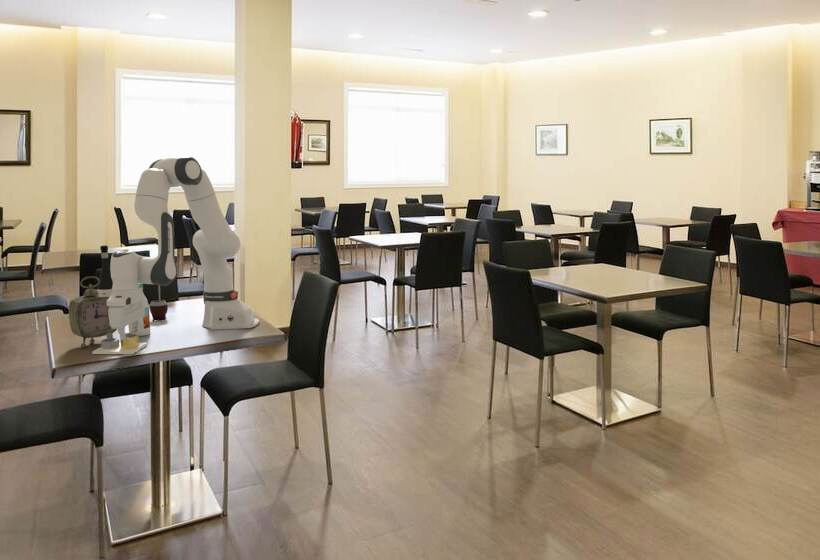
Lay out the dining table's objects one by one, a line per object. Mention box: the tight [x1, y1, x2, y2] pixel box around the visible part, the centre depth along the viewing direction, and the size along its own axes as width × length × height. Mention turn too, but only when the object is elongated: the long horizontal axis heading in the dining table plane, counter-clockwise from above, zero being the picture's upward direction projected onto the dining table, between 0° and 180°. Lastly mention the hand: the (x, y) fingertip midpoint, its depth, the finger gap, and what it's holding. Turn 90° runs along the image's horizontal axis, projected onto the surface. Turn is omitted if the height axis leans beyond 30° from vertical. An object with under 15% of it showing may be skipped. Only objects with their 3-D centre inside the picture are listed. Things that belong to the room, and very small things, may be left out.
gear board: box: [92, 332, 148, 355], centre depth 246 cm, size 14×12×6 cm
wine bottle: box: [96, 244, 113, 297], centre depth 304 cm, size 8×8×30 cm
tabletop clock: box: [68, 275, 117, 349], centre depth 253 cm, size 14×9×25 cm, turn 138°
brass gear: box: [119, 334, 140, 349], centre depth 246 cm, size 5×5×4 cm
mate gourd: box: [149, 285, 169, 322], centre depth 294 cm, size 8×8×15 cm
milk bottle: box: [128, 283, 151, 337], centre depth 268 cm, size 8×8×20 cm
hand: (129, 335), depth 245 cm, fingers open, 8 cm apart
